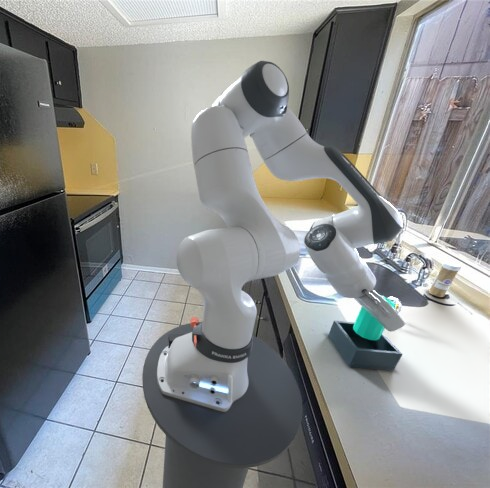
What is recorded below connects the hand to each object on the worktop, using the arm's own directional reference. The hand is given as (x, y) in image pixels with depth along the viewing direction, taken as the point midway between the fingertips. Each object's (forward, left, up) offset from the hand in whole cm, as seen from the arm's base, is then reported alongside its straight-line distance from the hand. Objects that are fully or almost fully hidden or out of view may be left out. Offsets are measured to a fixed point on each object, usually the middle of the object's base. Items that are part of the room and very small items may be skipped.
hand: (376, 313), depth 67 cm
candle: (-1, 0, -7) cm, 7 cm away
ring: (+17, +16, -13) cm, 27 cm away
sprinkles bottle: (+48, +34, -13) cm, 61 cm away
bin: (-1, 0, -13) cm, 13 cm away
